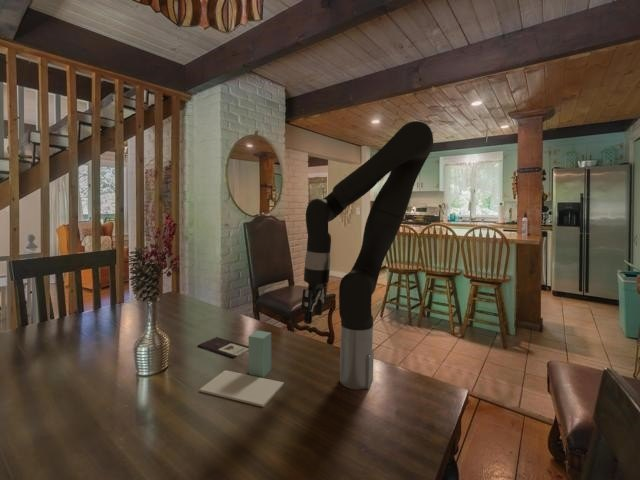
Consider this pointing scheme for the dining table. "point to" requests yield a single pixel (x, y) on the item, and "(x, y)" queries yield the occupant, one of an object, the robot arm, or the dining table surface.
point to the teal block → (259, 353)
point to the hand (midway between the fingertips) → (313, 318)
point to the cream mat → (243, 388)
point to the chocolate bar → (224, 347)
